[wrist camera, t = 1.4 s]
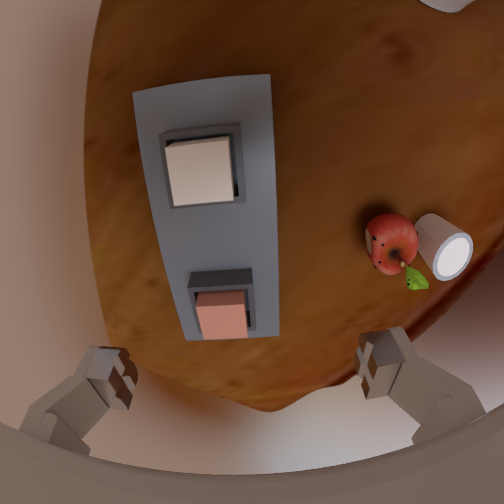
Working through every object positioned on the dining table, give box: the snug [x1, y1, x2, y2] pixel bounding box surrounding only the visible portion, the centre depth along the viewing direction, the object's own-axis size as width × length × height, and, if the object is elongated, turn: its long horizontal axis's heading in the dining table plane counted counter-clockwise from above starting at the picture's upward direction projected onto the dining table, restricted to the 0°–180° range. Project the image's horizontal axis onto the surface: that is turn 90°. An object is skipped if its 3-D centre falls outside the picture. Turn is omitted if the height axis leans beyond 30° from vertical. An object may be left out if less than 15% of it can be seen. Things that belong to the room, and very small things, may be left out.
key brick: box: [196, 289, 248, 339], centre depth 32 cm, size 5×5×3 cm
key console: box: [133, 74, 279, 340], centre depth 31 cm, size 32×13×6 cm, turn 4°
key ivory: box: [165, 136, 234, 206], centre depth 23 cm, size 5×5×3 cm
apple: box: [365, 213, 429, 290], centre depth 30 cm, size 8×7×10 cm
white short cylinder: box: [414, 213, 473, 281], centre depth 31 cm, size 7×7×7 cm
